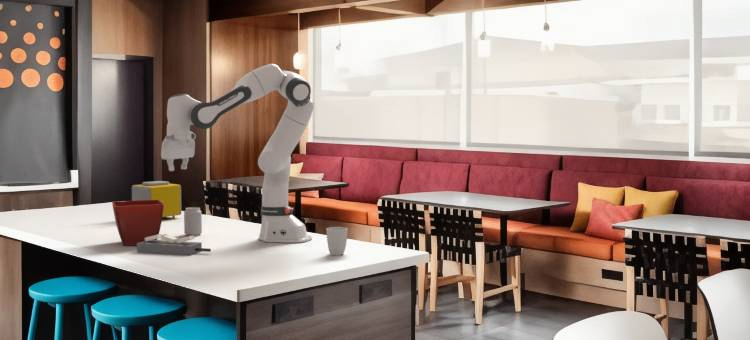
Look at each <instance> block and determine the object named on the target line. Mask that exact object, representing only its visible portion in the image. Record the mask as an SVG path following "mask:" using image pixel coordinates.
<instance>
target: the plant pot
mask: <svg viewBox="0 0 750 340" xmlns="http://www.w3.org/2000/svg"><path fill="white" fill-rule="evenodd" d="M163 209H164V204H163V203H162V202H161V201H160V200H136V201H132V200H121V201H120V200H119V201H112V210H113V214H114V221H115V224H116V228H117V232H118V234H119V237H120V240H121V241H120V242H121V243H122V244H123V246H137V243H139V242H143V241H145V238H146V237H149V236H154V235H158V234H160V231H161V226H162V222H163V218H164V217H163ZM154 240H158V239H154Z"/></svg>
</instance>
